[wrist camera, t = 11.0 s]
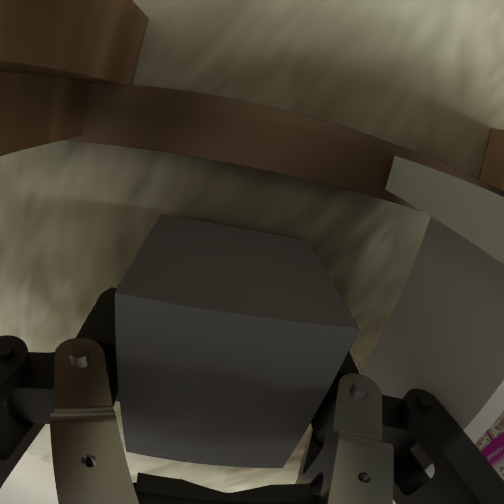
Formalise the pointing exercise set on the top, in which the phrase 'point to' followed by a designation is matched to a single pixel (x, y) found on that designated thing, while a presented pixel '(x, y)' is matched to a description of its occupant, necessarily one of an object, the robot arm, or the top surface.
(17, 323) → the top surface
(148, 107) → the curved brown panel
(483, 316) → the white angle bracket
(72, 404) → the robot arm
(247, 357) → the block
